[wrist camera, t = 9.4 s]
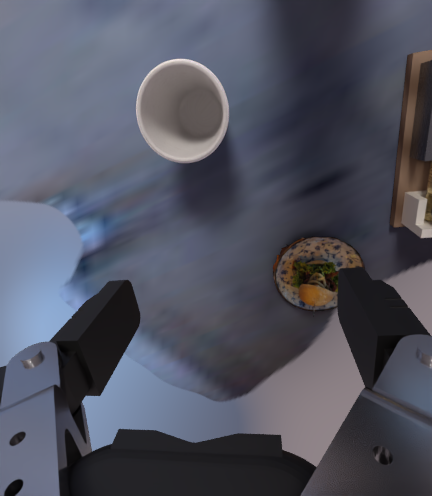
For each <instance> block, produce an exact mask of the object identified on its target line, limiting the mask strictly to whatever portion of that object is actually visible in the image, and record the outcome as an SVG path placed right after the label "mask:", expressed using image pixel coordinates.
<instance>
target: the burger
mask: <svg viewBox="0 0 432 496" xmlns="http://www.w3.org/2000/svg"><path fill="white" fill-rule="evenodd" d="M286 245H287V244H286ZM354 267H363V268H364V269H365V267H364V263H363V261H362V259H361V257H360V255H359V253H358V252H357V251H356V250H355V249H354V248H353V247H352V246H351V245H349V244H347V243H345V242H343V241H341V240H340V239H338V238H334V237H310V238H301V239H299V240H297V241H295V242H294V243H292V244H291V245H289V246H288V245H287V247H285V248H282V250H281V253H280V255H277V261H276V263H275V264H274V266H273V277H274V281H275V284H276V287H277V290H278V291H279V293H280V294H281V296H282V297H283V298H284V299H285V300H286V301H287V302H289V303H290V304H292V305H293V306H294V307H298V308H300V309H303V310H308V311H313V317H314V311H324V310H329V309H333V308H336V307H337V302H338V274H339V269H340V268H354Z"/></svg>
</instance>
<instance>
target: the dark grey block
mask: <svg viewBox="0 0 432 496" xmlns="http://www.w3.org/2000/svg"><path fill="white" fill-rule="evenodd" d="M426 199H427V204H426V211H425V217H424V219H425V220H428V221H432V161H431V166H430V172H429V179H428V185H427V192H426Z"/></svg>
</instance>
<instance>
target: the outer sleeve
mask: <svg viewBox="0 0 432 496" xmlns="http://www.w3.org/2000/svg"><path fill="white" fill-rule="evenodd" d="M409 157H411V158H414V159H418V160H421V161H432V60H430V61H427V62H424V63H421V66H420V74H419V82H418V90H417V99H416V107H415V115H414V123H413V131H412V140H411V148H410V156H409Z"/></svg>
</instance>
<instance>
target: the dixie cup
mask: <svg viewBox="0 0 432 496" xmlns="http://www.w3.org/2000/svg"><path fill="white" fill-rule="evenodd" d="M136 115H137V121H138V125H139V128H140V131H141V133H142V135H143V137H144V139H145V140H146V142H147V143H148V145H149V146H150V147H151V148H152V149H153V150H154V151H155V152H156V153H158V154H159V155H160V156H162V157H164V158H165V159H168V160H170V161H173V162H177V163H192V162H196V161H199V160H202V159H204V158H206V157H207V156H209V155H210V154H211V153H213V152H214V151H215V150H216V149H217V147H218V146H219V145H220V143H221V142H222V140H223V138H224V136H225V133H226V131H227V127H228V122H229V105H228V100H227V96H226V93H225V91H224V88H223V86H222V85H221V83H220V81H219V80H218V79H217V77H216V76H215V75H214V74H213V73H212V72H211V71H210V70H209V69H208V68H206V67H205V66H203V65H202V64H200V63H197V62H195V61H192V60H188V59H173V60H169V61H166V62H164V63H161V64H160V65H158V66H157V67H155V68H154V69H153V70H152V71H151V72H150V73H149V74H148V75H147V76H146V78H145V79H144V81H143V83H142V85H141V87H140V89H139V92H138V96H137V102H136Z"/></svg>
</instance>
